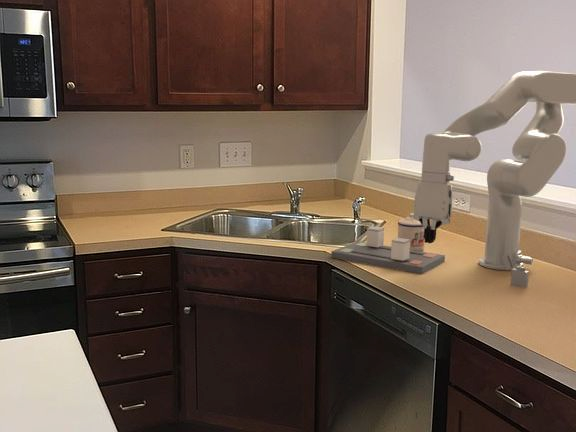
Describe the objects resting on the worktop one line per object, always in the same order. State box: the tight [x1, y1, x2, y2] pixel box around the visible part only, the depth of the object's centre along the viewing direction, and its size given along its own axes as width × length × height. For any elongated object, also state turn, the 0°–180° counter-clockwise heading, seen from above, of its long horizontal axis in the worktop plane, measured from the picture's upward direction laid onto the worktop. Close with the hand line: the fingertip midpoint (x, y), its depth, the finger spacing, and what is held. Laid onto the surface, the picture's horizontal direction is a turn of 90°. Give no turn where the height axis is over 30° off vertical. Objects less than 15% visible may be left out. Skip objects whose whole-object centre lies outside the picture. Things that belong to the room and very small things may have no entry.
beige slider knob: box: [390, 237, 410, 261], centre depth 192 cm, size 4×4×6 cm
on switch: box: [365, 226, 385, 247], centre depth 208 cm, size 4×4×6 cm
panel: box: [330, 241, 446, 275], centre depth 201 cm, size 30×17×2 cm, turn 55°
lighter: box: [502, 254, 530, 289], centre depth 176 cm, size 7×2×8 cm, turn 49°
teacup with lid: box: [397, 213, 425, 252], centre depth 215 cm, size 12×9×12 cm
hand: (429, 242), depth 186 cm, fingers closed
